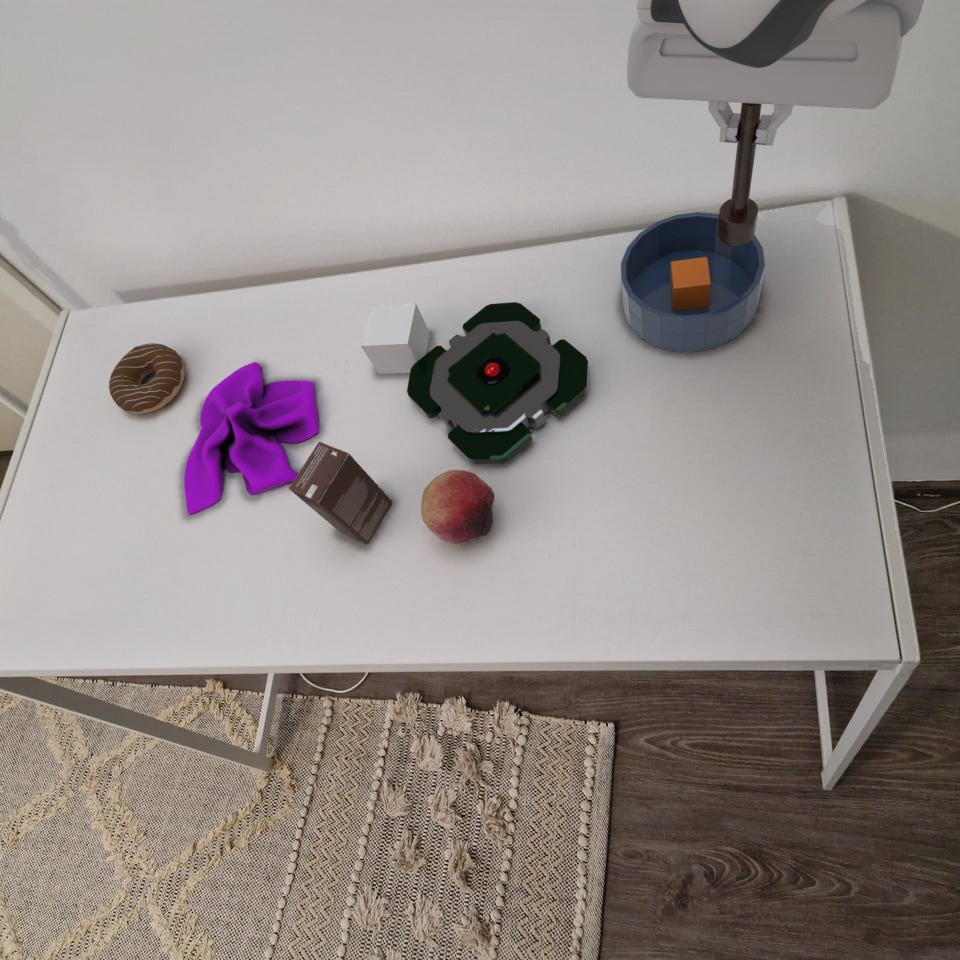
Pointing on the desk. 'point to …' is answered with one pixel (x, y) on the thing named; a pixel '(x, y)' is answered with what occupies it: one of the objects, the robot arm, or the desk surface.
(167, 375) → the donut
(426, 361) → the flat green button pad
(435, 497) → the fruit
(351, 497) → the box
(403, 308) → the white cube
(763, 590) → the desk surface
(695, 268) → the block
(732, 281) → the bowl
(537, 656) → the desk surface
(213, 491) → the cloth
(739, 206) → the stirrer
